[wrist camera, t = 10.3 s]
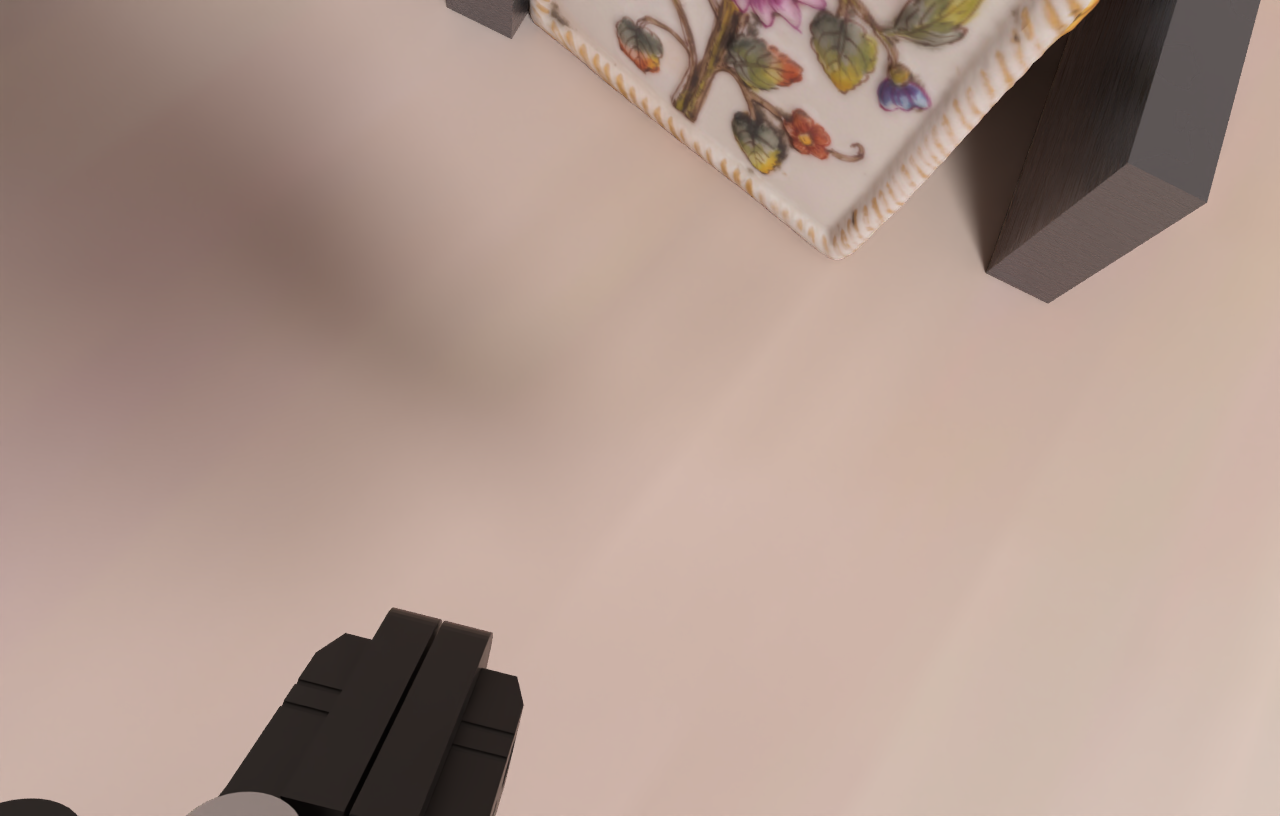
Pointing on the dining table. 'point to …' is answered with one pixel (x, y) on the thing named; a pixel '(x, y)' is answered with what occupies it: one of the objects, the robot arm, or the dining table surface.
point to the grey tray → (1100, 133)
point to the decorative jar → (814, 89)
